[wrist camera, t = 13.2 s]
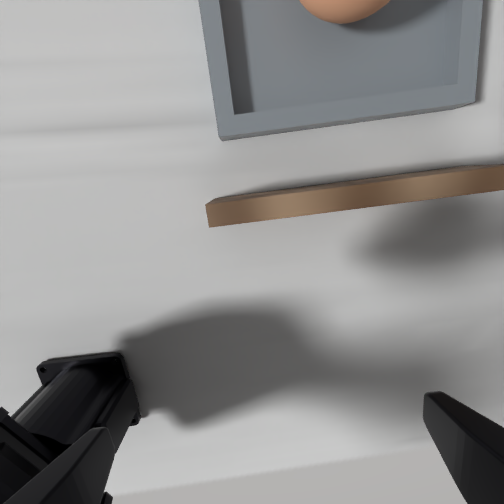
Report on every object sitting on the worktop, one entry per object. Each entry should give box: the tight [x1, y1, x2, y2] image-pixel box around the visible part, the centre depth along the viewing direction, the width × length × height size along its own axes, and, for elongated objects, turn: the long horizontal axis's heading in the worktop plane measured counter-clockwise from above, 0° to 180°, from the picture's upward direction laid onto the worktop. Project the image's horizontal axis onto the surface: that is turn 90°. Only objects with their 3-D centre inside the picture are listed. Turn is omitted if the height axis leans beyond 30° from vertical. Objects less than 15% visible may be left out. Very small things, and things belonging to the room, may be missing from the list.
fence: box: [205, 164, 504, 228], centre depth 16 cm, size 16×1×4 cm, turn 97°
